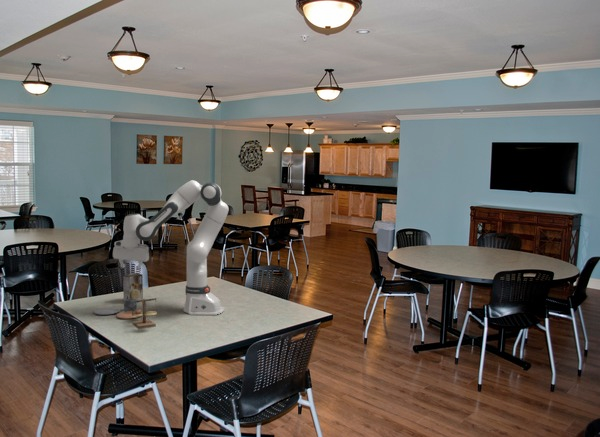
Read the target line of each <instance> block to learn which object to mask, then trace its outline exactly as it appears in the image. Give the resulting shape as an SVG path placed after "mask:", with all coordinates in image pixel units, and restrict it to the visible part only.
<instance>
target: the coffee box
mask: <svg viewBox="0 0 600 437" xmlns="http://www.w3.org/2000/svg"><path fill="white" fill-rule="evenodd" d="M122 278H123V279H122V282H123V283H122V285H123V286H122V287H123V289H122V290H123V301H124V300H126V299H128V298H129V299H137V301H138V300H143V299H144V290H143V288H144V287H143V286H144V285H143V284H144V283H143V274H142V273H138V272H134V273H130V274H129V273H128V274H124V275H122Z"/></svg>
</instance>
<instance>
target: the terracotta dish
mask: <svg viewBox="0 0 600 437" xmlns="http://www.w3.org/2000/svg"><path fill="white" fill-rule="evenodd" d="M133 313H135V311H133ZM116 317H117V318H118V319H123V320H124V319H125V320H126V319H127V320H129V319H137V318H141V316H138V317H135V316H132V311H124V310H123V311H119V312H118V313H116Z"/></svg>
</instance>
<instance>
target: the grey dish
mask: <svg viewBox="0 0 600 437" xmlns="http://www.w3.org/2000/svg"><path fill="white" fill-rule="evenodd" d="M120 312H121V310H120V308H118V307H116V306H115V307H114V306H113V307H111V306H108V307H107V306H106V307H104V306H103V307H99V308H96V309H94V310H93V313H94V314H96V315H101V316H102V315H103V316H107V315H108V316H109V315H114V314H118V313H120Z"/></svg>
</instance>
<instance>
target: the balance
mask: <svg viewBox="0 0 600 437" xmlns="http://www.w3.org/2000/svg"><path fill="white" fill-rule="evenodd" d="M151 301H157V298H156V297H155V298H147V299H146V298H143V300H138V301H132V316H135V317H137V318H139V317H138V316H140V317H142V319H141V320H140V319H139V320H134V321H132V325H134V326H135V328H138V329H139V330H142V329H148V328H154V327H157V324H156V323H155V322H153V321H152V320H150V319H147V316H148V317H150V316H156V315H158V312H157V311H156V310H154V311H153V310H150V311H147V302H151ZM136 302H137V303H142V309H140V308H138V309H137V310H135V313H133V303H136ZM141 310H142V311H141Z"/></svg>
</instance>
